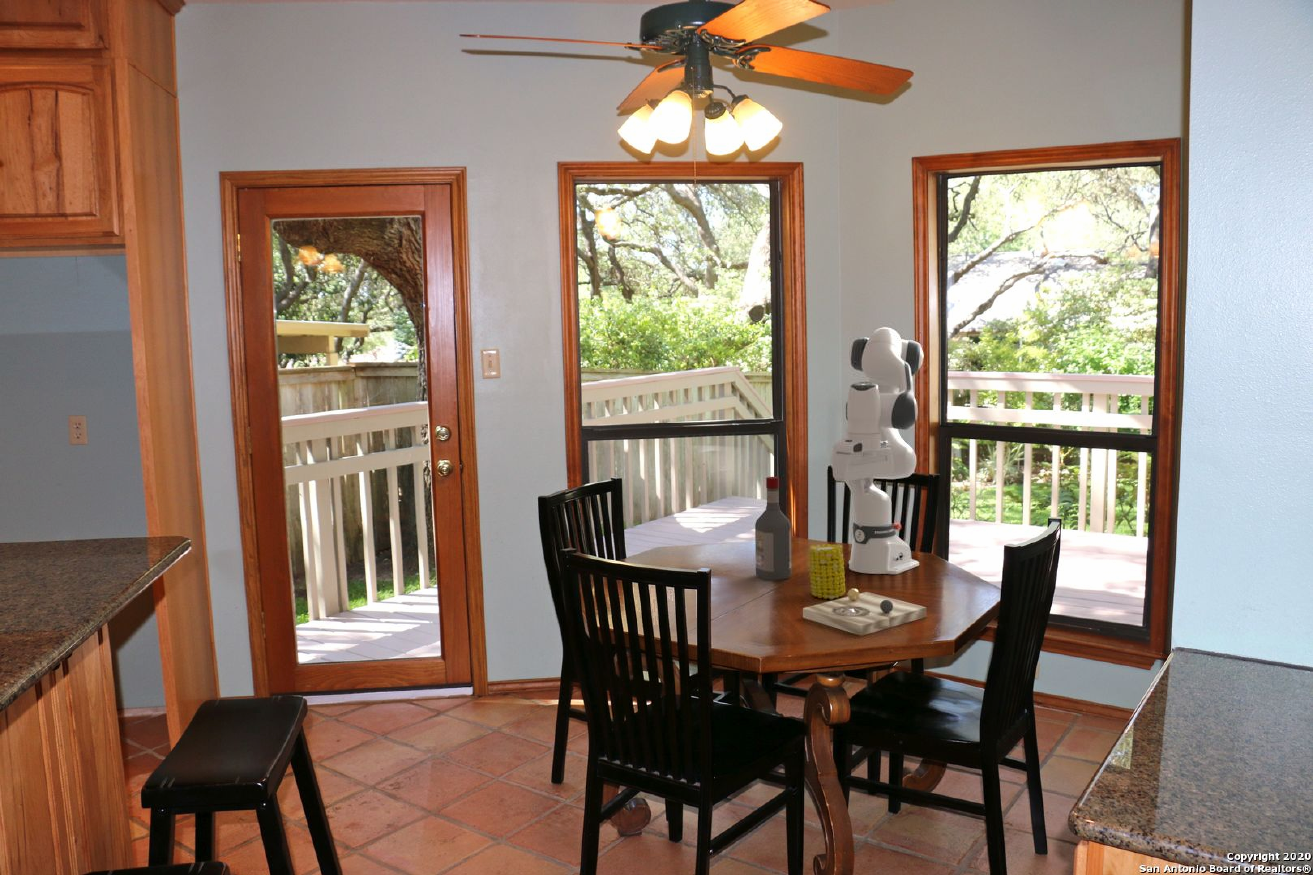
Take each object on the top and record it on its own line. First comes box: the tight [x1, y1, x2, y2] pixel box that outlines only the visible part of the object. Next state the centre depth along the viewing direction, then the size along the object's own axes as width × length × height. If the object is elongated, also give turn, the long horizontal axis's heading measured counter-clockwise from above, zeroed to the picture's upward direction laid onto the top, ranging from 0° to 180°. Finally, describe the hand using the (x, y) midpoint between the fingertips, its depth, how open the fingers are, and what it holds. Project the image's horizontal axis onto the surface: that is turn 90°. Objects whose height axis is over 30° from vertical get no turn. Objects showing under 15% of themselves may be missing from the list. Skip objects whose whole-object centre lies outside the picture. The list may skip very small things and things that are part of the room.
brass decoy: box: [846, 588, 860, 601], centre depth 266 cm, size 3×3×3 cm
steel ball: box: [844, 609, 856, 614], centre depth 256 cm, size 3×3×3 cm
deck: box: [802, 591, 927, 636], centre depth 259 cm, size 24×20×2 cm
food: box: [808, 543, 846, 601], centre depth 280 cm, size 15×12×10 cm
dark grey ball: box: [880, 600, 893, 613], centre depth 254 cm, size 3×3×3 cm
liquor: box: [754, 476, 792, 582], centre depth 301 cm, size 9×9×30 cm
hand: (863, 494), depth 272 cm, fingers closed
